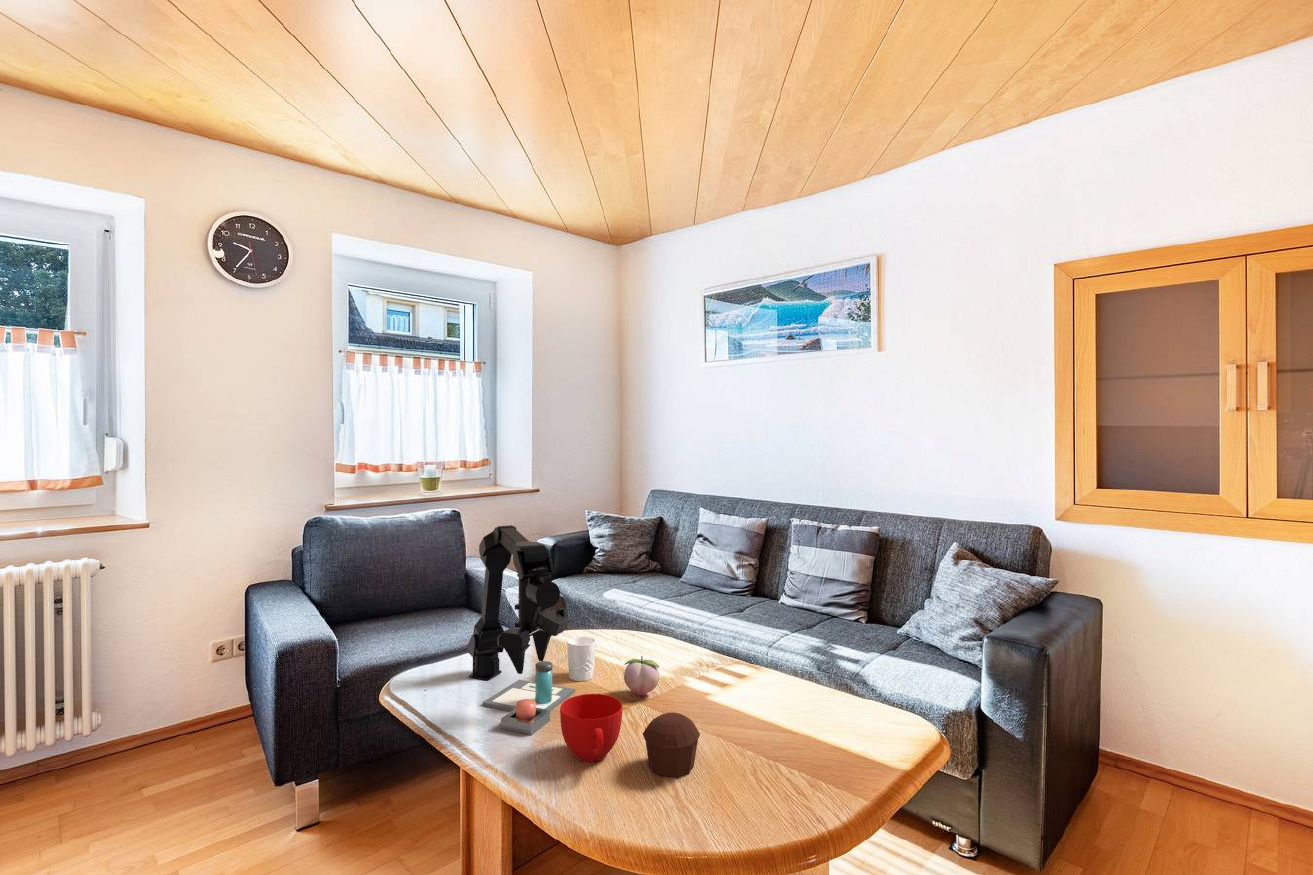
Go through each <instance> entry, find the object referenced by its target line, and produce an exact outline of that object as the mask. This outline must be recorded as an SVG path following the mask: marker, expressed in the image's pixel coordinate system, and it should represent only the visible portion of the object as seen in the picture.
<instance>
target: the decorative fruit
mask: <svg viewBox="0 0 1313 875" xmlns="http://www.w3.org/2000/svg"><path fill="white" fill-rule="evenodd" d="M623 665H625V669H624V673H623V681H624V684H625V685H626V687H628V688H629V689H630V690H631V691H632V692H633V693H635V694H637V695H639V696H645V695H646V694H648V693H650V692H652V691H653V690H654V689H655V688H657V686H658V684H659V682H660V672H659V669H658V668H660V666H659V664H658V663H657V662H656V661H654V660H652V659H646V658H645V659H644V658H643V656H642V655H641V656H640V658H639V659H638V658H631V659H629V660H627V661H626V662H625V663H624V664H623Z"/></svg>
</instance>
